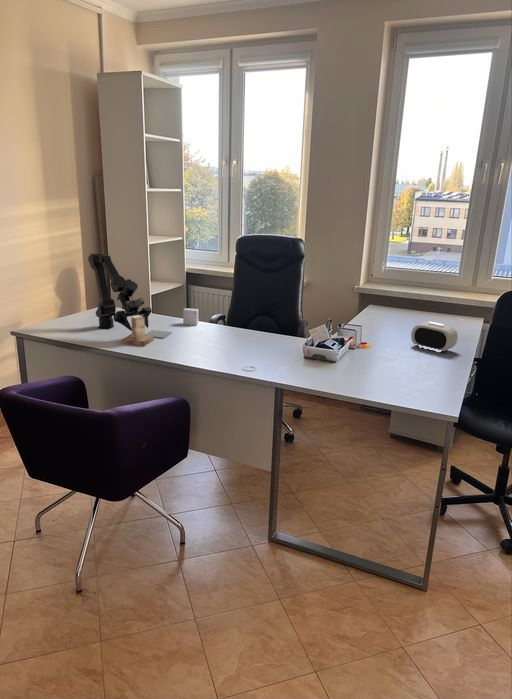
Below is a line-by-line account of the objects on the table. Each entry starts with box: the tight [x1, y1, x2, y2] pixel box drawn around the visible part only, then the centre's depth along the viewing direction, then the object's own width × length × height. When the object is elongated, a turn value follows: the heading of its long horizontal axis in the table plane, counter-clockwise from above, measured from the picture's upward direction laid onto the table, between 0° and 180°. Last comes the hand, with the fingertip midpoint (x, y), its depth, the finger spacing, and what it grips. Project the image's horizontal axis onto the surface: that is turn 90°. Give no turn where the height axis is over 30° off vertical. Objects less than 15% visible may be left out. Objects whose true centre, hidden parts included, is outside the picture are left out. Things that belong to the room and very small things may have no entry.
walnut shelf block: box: [122, 333, 154, 347], centre depth 246 cm, size 11×11×2 cm
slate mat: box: [145, 329, 173, 340], centre depth 260 cm, size 11×11×1 cm
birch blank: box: [130, 315, 146, 339], centre depth 245 cm, size 4×4×10 cm
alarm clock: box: [410, 321, 458, 352], centre depth 256 cm, size 21×10×13 cm, turn 47°
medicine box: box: [182, 307, 199, 327], centre depth 282 cm, size 8×4×9 cm, turn 84°
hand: (139, 328), depth 244 cm, fingers open, 9 cm apart
